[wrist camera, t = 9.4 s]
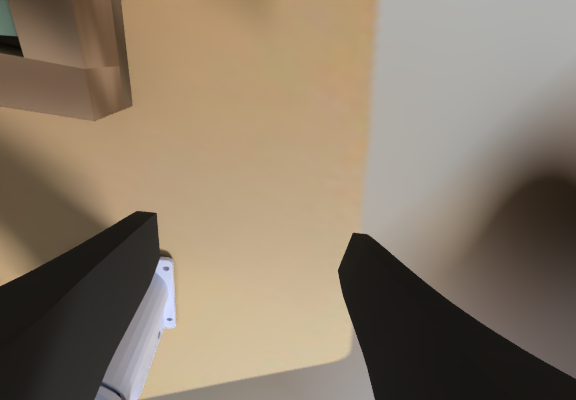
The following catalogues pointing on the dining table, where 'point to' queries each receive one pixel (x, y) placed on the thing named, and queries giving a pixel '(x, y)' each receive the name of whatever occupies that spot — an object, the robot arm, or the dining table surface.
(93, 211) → the dining table surface
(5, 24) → the square peg
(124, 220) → the robot arm
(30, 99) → the hole block
